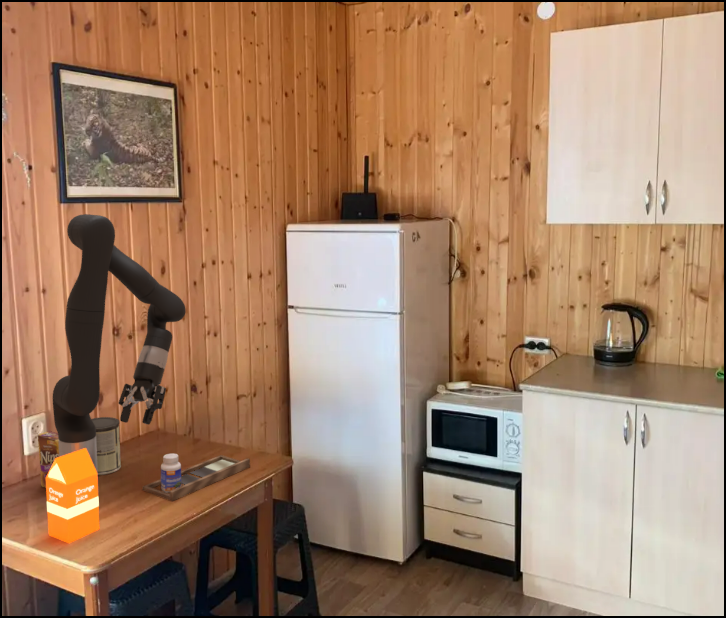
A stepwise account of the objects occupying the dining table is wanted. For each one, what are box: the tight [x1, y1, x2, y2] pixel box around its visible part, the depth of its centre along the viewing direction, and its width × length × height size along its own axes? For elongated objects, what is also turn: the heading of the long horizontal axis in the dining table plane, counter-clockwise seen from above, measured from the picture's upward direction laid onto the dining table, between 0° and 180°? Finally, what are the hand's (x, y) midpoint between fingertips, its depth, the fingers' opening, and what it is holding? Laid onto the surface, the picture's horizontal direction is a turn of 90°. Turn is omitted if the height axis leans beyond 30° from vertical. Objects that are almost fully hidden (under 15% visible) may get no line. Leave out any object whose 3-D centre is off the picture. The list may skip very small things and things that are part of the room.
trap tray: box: [141, 454, 251, 502], centre depth 210 cm, size 30×12×2 cm, turn 146°
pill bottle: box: [160, 453, 182, 494], centre depth 201 cm, size 5×5×10 cm
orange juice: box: [45, 448, 100, 544], centre depth 175 cm, size 8×9×20 cm
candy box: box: [37, 430, 59, 489], centre depth 200 cm, size 9×4×15 cm, turn 60°
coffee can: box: [91, 416, 122, 476], centre depth 215 cm, size 10×10×14 cm
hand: (134, 422), depth 196 cm, fingers open, 8 cm apart
